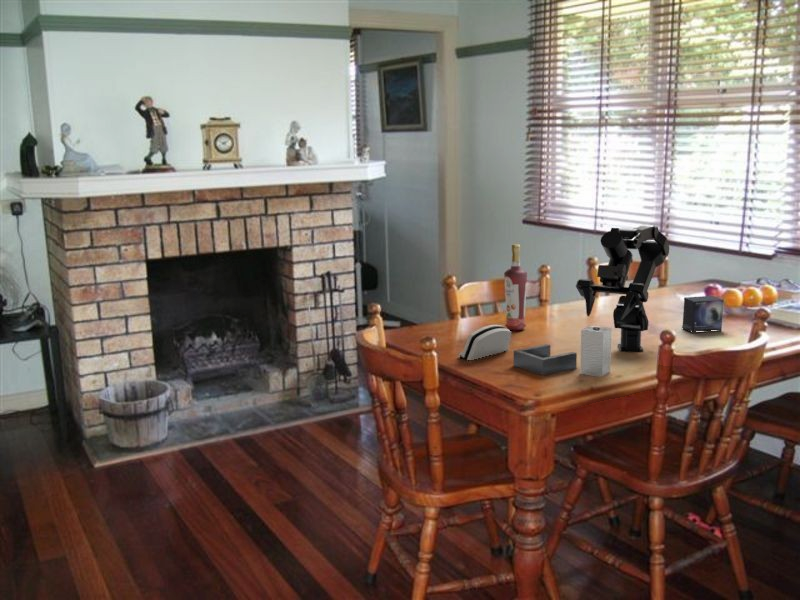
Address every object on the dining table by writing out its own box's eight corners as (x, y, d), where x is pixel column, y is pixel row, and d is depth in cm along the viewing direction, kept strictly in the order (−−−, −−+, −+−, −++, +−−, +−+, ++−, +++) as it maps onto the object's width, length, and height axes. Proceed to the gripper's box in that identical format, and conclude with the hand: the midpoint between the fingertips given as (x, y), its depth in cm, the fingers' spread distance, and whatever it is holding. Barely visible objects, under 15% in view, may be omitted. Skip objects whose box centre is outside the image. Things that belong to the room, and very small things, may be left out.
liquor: (531, 329, 263) (532, 244, 258) (513, 333, 259) (514, 246, 254) (516, 325, 269) (517, 242, 264) (499, 329, 266) (499, 244, 260)
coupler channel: (546, 358, 229) (546, 344, 228) (576, 368, 219) (576, 352, 218) (513, 365, 223) (513, 350, 222) (542, 375, 213) (542, 360, 212)
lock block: (588, 368, 218) (589, 324, 216) (610, 371, 215) (611, 326, 213) (580, 374, 213) (581, 328, 211) (602, 377, 210) (603, 331, 208)
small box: (692, 333, 253) (694, 301, 251) (681, 329, 259) (682, 297, 257) (722, 331, 255) (724, 298, 253) (710, 326, 261) (712, 295, 259)
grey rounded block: (495, 347, 243) (504, 318, 238) (507, 355, 240) (515, 326, 235) (457, 358, 232) (465, 328, 227) (468, 366, 229) (476, 336, 224)
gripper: (577, 250, 221) (562, 299, 216) (645, 254, 211) (631, 306, 205) (588, 271, 230) (574, 319, 224) (654, 276, 219) (641, 326, 214)
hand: (604, 317), depth 216 cm, fingers open, 9 cm apart
